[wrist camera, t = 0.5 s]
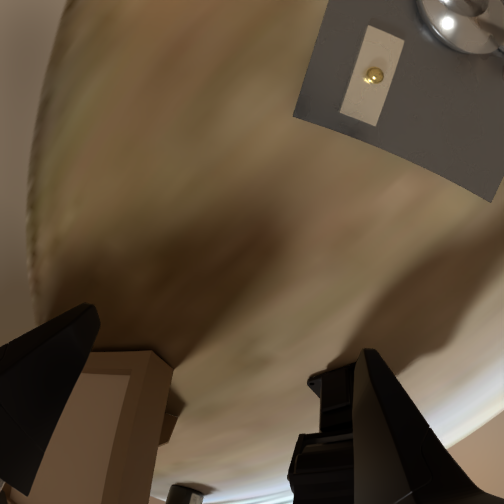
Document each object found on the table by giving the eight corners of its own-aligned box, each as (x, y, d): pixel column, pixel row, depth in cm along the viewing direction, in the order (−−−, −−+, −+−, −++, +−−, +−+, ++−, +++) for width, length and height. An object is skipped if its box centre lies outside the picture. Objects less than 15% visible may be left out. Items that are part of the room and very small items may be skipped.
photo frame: (40, 346, 37) (-41, 479, 16) (154, 343, 31) (58, 567, 10) (97, 409, 44) (41, 529, 23) (211, 419, 37) (164, 590, 16)
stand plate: (487, 199, 18) (502, 213, 16) (292, 115, 18) (291, 120, 16) (547, -17, 7) (565, -20, 5) (367, -122, 7) (372, -138, 5)
